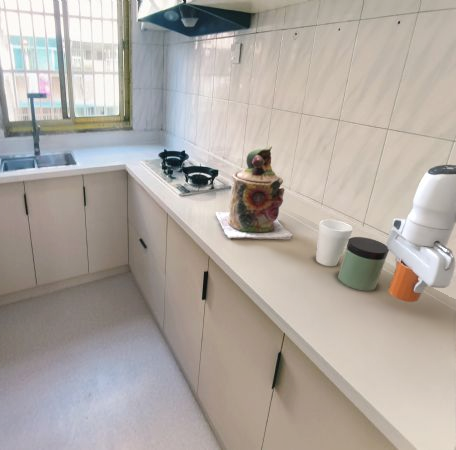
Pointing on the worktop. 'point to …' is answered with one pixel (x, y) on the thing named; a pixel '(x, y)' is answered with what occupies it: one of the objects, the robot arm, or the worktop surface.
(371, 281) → the jar
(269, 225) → the cookie jar
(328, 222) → the foam cup
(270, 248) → the worktop surface
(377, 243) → the jar lid
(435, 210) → the robot arm
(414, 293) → the cup
